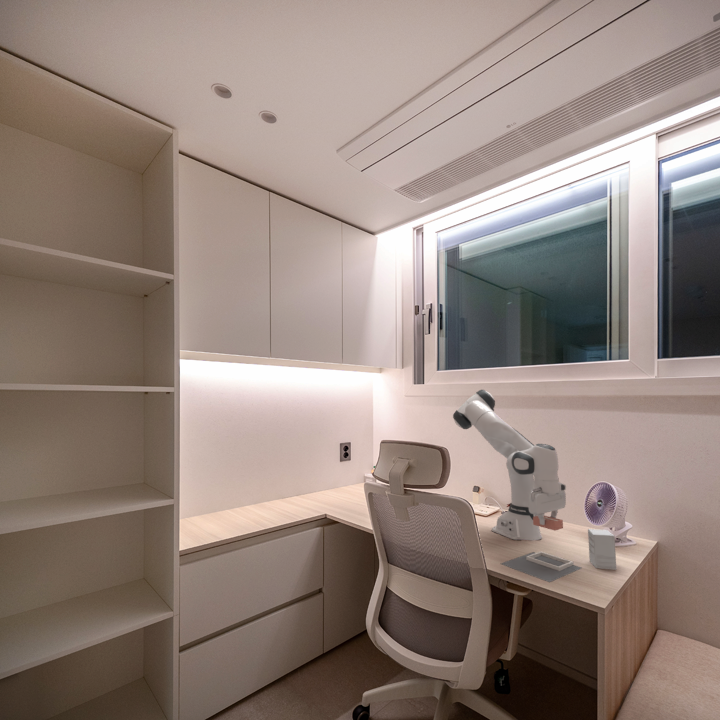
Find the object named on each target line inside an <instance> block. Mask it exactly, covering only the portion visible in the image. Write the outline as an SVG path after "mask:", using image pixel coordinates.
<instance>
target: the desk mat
mask: <svg viewBox="0 0 720 720" xmlns="http://www.w3.org/2000/svg"><path fill="white" fill-rule="evenodd" d="M535 553H536V552H534V551H533V552H532V551H531V552H529V553H527V554H524V555H521V556H518V557H516V558H513V559H510V560H507V561H504V562H501V563H500V565H503V566H505V567H508V568H510V569H513V570H516V571H518V572H521V573H524V574H526V575H529V576H531V577H533V578H537V579H540V580H542V581H545V582H547V583H551V582H554V581H556V580H558V579H560V578H562V577H566V576H568V575H569V574H572V573H574V572H576V571H579V570H582V567H581V566H577V565H572V566H570V567H568V568H565V569H563V570H561V571H558V570H555V569H552V568H549V567H546V566H543V565H540V564H538V563H535V562H532V561H529V560H526V556H529V555H532V554H535ZM535 559H537V560H540V561H543V562H546V563H549V564H552V565H555V566H558V567H559V566H561V565H563V564H566V563H563V562H560V561H557V560H554V559H551V558H548V557H545V556H542V555H541V556H538V557H535Z"/></svg>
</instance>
